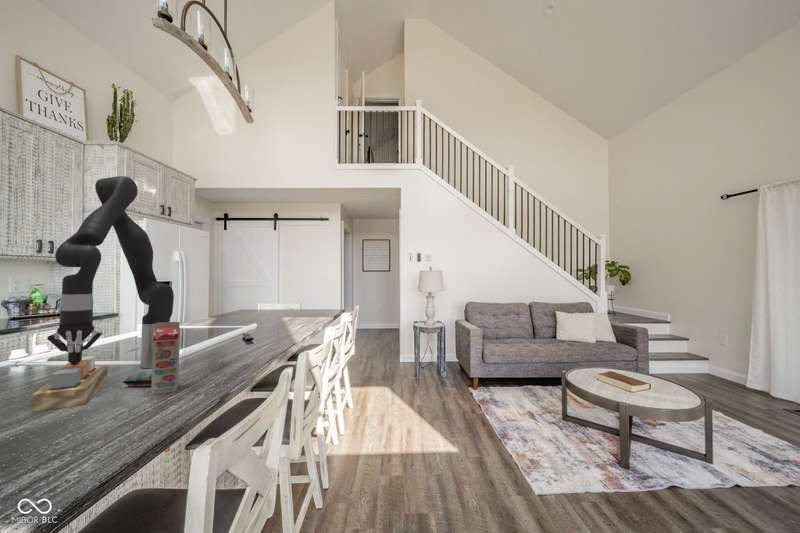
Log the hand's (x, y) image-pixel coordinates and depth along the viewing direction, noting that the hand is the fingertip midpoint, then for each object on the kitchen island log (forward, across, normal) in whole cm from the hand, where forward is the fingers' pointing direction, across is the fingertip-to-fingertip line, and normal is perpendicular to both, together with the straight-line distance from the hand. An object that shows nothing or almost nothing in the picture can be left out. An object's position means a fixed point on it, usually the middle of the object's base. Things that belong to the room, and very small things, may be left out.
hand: (74, 363), depth 106 cm
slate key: (+4, 0, +8) cm, 9 cm away
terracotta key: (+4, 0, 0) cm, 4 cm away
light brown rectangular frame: (+9, 0, 0) cm, 9 cm away
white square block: (+4, 0, -8) cm, 9 cm away
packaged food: (+10, -19, -1) cm, 21 cm away
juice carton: (+9, -24, +8) cm, 27 cm away
